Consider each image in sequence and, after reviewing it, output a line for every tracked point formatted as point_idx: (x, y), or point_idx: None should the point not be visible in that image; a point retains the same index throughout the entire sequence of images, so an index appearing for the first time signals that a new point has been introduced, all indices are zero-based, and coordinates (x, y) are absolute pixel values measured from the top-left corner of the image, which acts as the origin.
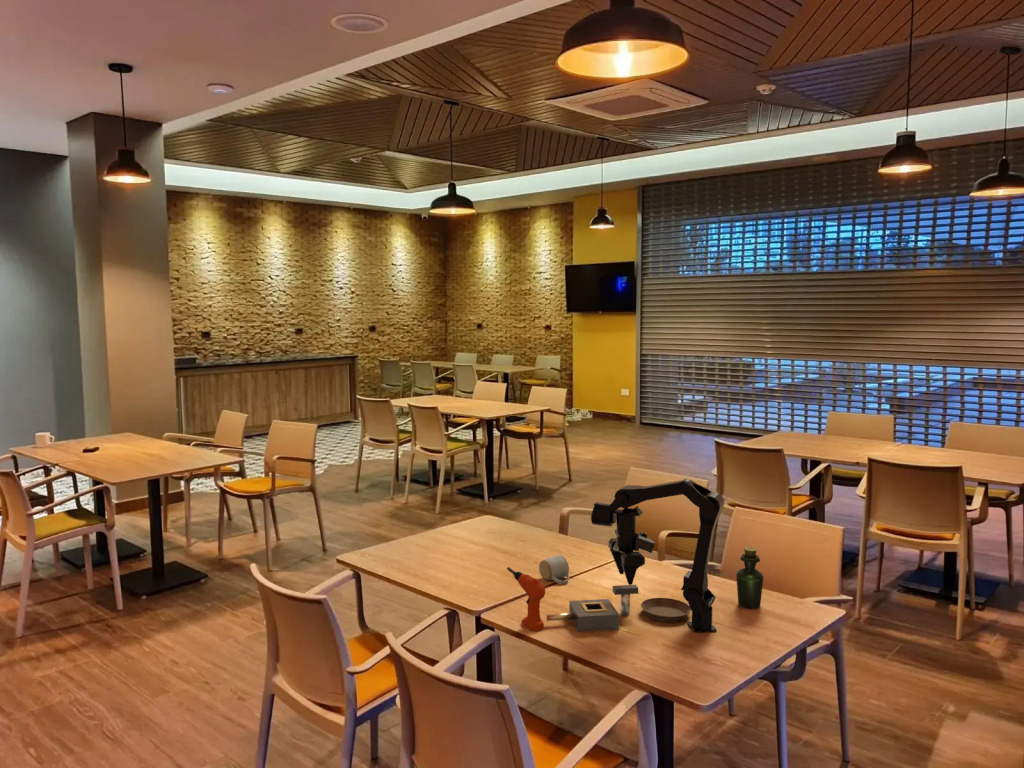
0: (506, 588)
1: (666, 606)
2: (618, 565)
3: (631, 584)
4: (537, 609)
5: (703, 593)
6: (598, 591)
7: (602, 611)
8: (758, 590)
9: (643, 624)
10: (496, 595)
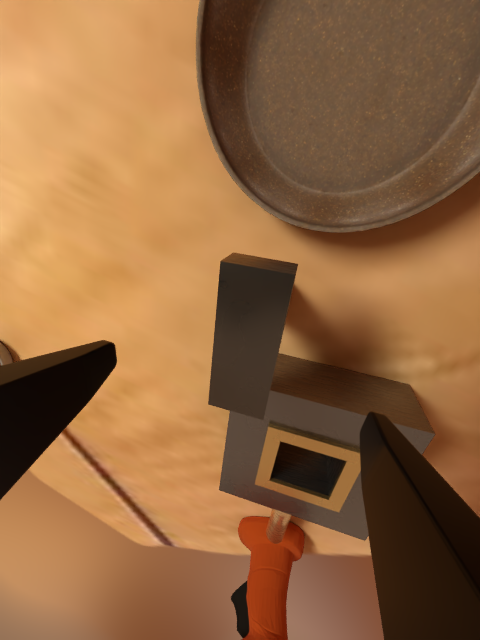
0: (55, 467)
1: (257, 4)
2: (52, 427)
3: (381, 417)
4: (285, 599)
5: None
6: (54, 283)
7: (360, 465)
8: None
9: (416, 269)
10: (93, 496)
